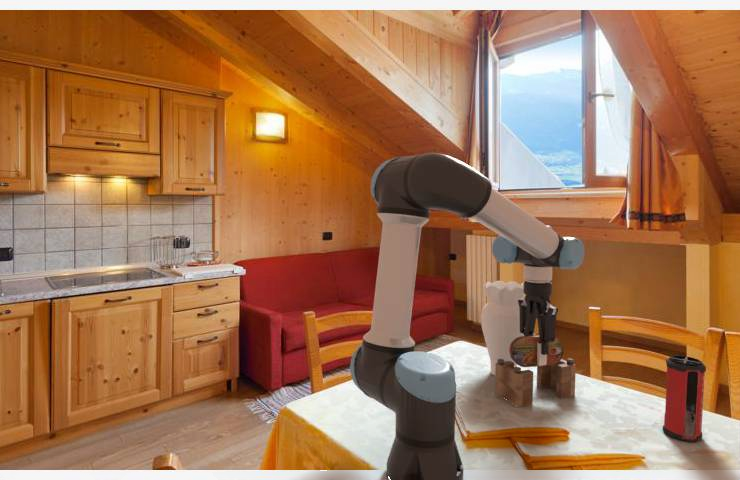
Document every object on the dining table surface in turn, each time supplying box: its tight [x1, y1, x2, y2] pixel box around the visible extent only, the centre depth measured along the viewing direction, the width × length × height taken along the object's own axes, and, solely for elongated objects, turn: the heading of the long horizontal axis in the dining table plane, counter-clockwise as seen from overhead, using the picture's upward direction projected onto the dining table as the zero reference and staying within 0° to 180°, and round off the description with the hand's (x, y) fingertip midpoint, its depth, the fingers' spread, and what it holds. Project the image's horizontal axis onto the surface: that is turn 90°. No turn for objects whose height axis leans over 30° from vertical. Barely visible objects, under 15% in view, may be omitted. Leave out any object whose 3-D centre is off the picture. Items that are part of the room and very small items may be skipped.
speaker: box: [662, 355, 707, 443], centre depth 107 cm, size 8×8×18 cm
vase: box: [480, 280, 526, 377], centre depth 146 cm, size 15×15×29 cm
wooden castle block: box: [494, 358, 577, 408], centre depth 130 cm, size 10×20×10 cm, turn 112°
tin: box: [509, 334, 565, 368], centre depth 130 cm, size 15×3×8 cm, turn 94°
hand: (536, 362), depth 130 cm, fingers closed on tin, 4 cm apart
